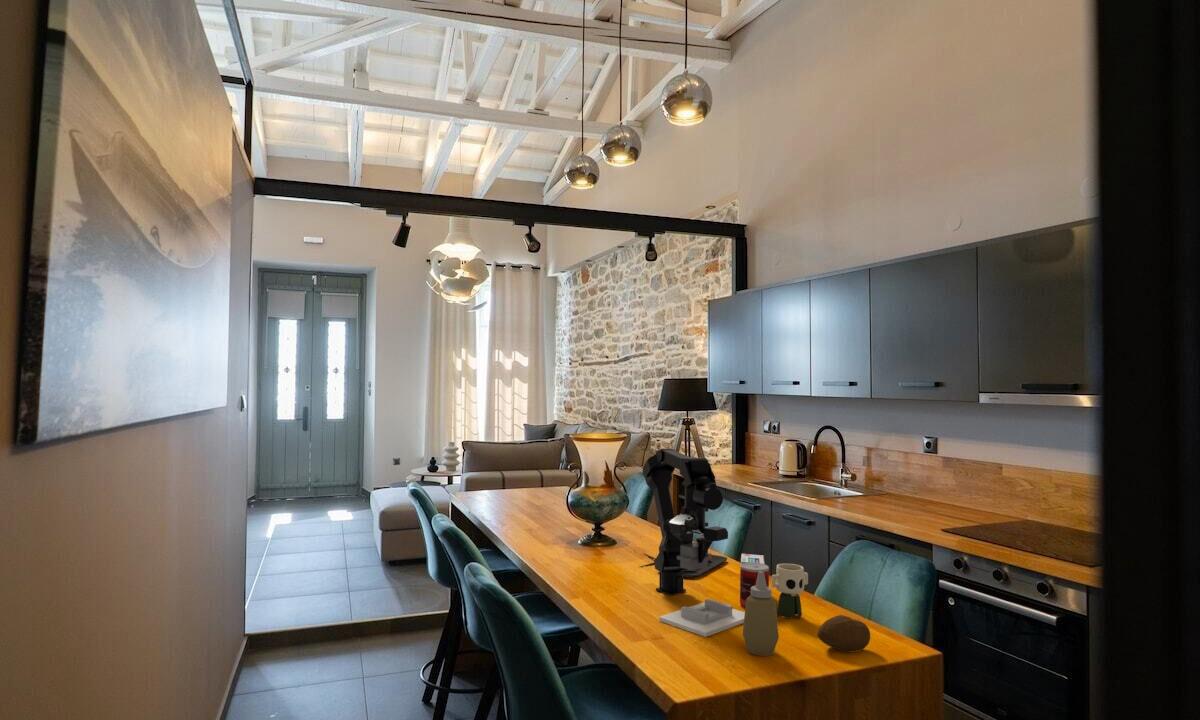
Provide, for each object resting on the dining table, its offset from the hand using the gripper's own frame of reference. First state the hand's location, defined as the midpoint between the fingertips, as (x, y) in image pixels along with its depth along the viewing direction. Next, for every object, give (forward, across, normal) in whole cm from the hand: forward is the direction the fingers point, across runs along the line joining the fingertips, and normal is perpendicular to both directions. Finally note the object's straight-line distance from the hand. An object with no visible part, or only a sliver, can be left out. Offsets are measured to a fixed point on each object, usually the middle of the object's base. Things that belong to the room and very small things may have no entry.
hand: (694, 561), depth 194 cm
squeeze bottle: (+12, +31, -14) cm, 36 cm away
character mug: (+12, +22, +13) cm, 28 cm away
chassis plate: (+12, +9, -6) cm, 17 cm away
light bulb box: (+12, +5, +21) cm, 25 cm away
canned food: (+12, +11, +13) cm, 21 cm away
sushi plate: (+13, -34, +30) cm, 47 cm away
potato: (+13, +43, +2) cm, 45 cm away
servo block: (+2, 0, 0) cm, 2 cm away
